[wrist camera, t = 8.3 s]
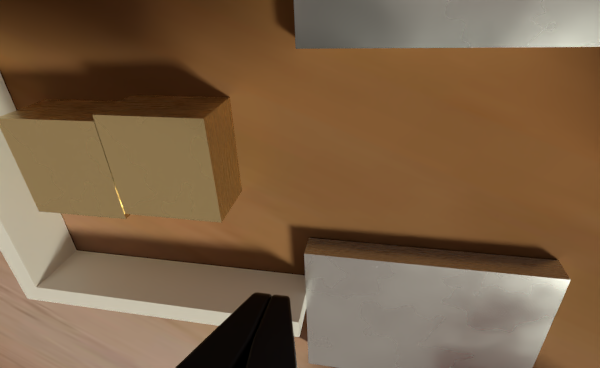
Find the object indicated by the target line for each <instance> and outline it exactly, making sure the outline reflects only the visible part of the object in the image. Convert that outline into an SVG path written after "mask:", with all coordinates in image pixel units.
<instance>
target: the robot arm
mask: <svg viewBox="0 0 600 368" xmlns="http://www.w3.org/2000/svg"><path fill="white" fill-rule="evenodd" d="M176 368H297V362H296V352H295V342H294V333H293V323H292V314H291V304H290V298H289V297H288V296H284V295H276V294H275V295H273V296H272V295H271V294H267V293H259V292H255V293H253V294H252V295H251V296H250V297H249V298H248V299H247V300H246V301H245V302H243V303H242V304H241V305H240V306H239V307H238V308H237V309H236V310H235V311H234V312H233V313H232V314H231V315H230V316H229V317H228V318H227V319H226V320H225V321H224V322H223V323H222V324H221V325H219V326H218V327H217V328H216V329H215V330H214V331H213V332H212V333H211V334H210V335H209V336H208V337H207V338H206V339H205V340H204V341H203V342H202V343H201V344H200V345H199V346H198V347H197V348H195V349H194V350H193V351H192V352H191V353H190V354H189V355H188V356H187V357H186V358H185V359H184V360H183V361H182V362H181V363H180V364H179V365H178V366H177V367H176Z"/></svg>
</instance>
